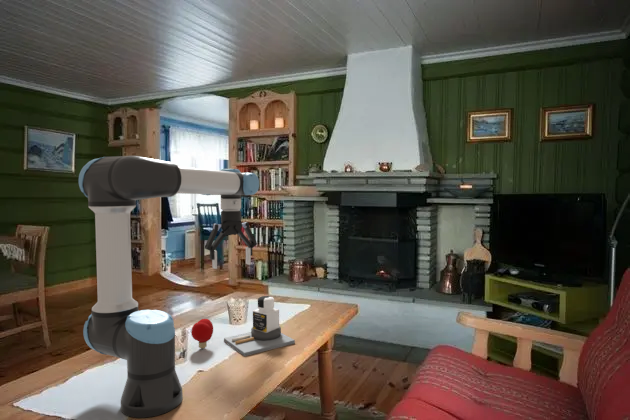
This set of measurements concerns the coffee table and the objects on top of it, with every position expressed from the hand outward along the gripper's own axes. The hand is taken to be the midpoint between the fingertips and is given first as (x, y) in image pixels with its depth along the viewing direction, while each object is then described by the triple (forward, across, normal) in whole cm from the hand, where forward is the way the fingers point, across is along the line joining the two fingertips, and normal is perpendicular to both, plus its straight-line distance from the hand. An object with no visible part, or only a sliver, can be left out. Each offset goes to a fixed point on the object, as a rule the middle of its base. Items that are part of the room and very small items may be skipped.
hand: (231, 266), depth 158 cm
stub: (+26, +9, -10) cm, 29 cm away
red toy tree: (+27, -14, -6) cm, 31 cm away
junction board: (+27, +5, -12) cm, 30 cm away
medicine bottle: (+23, +9, -10) cm, 27 cm away
